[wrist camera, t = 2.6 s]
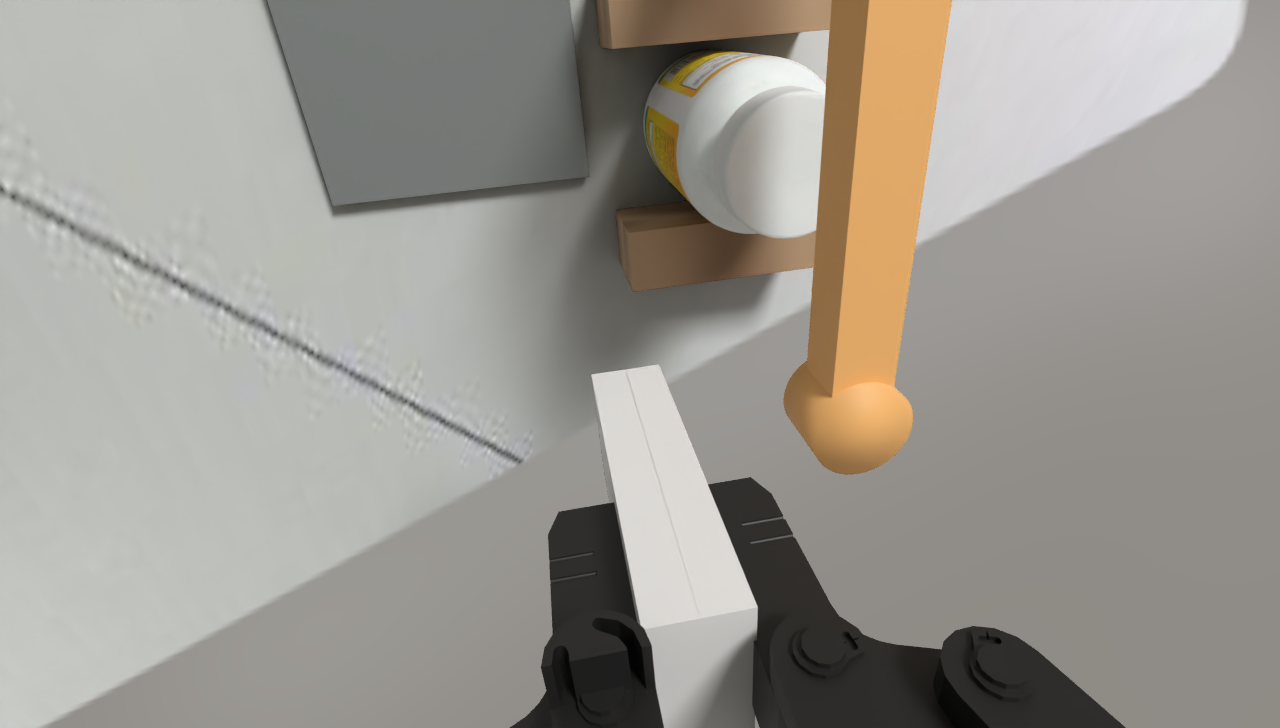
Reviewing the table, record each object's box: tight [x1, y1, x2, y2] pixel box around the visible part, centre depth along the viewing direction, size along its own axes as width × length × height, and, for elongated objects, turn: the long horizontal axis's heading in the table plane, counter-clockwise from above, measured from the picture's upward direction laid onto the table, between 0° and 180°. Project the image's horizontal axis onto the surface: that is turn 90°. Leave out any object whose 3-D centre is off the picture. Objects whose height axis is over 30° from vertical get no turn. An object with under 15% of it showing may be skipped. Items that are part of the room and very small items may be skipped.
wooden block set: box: [596, 0, 832, 292], centre depth 22 cm, size 8×17×4 cm, turn 5°
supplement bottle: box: [643, 49, 826, 239], centre depth 21 cm, size 5×5×10 cm
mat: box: [267, 0, 589, 206], centre depth 22 cm, size 10×10×1 cm
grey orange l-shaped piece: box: [784, 0, 952, 475], centre depth 17 cm, size 3×17×14 cm, turn 5°
